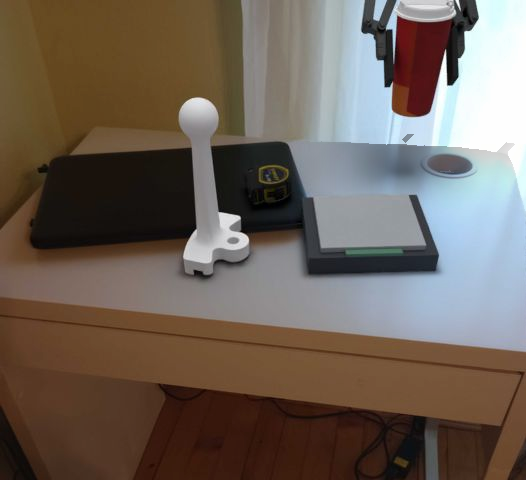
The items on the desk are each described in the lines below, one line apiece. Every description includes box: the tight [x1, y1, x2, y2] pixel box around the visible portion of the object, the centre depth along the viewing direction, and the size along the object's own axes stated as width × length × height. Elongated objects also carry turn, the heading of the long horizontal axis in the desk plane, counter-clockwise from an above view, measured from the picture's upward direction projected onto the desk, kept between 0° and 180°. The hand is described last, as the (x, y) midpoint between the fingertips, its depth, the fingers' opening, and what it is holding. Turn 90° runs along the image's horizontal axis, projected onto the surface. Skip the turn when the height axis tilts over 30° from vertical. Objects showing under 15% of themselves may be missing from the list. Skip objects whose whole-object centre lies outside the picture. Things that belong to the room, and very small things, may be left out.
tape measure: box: [242, 163, 294, 206], centre depth 91 cm, size 7×7×4 cm
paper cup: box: [391, 0, 456, 118], centre depth 85 cm, size 8×8×14 cm
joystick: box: [178, 97, 250, 276], centre depth 75 cm, size 11×8×20 cm
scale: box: [300, 193, 440, 275], centre depth 83 cm, size 16×14×3 cm
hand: (420, 82), depth 84 cm, fingers closed on paper cup, 8 cm apart
